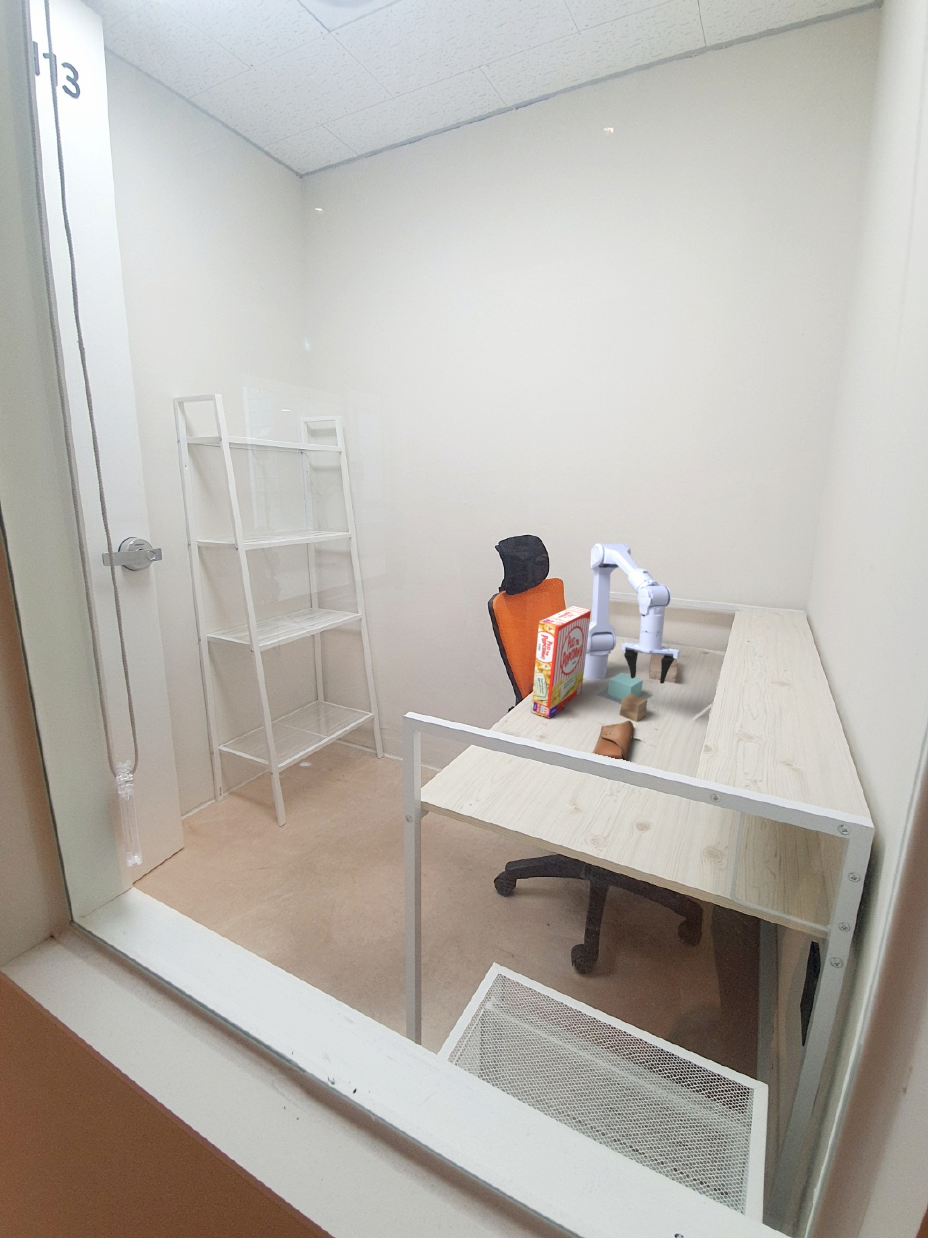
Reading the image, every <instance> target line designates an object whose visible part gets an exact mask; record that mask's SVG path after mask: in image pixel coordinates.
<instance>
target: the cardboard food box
mask: <svg viewBox="0 0 928 1238" xmlns="http://www.w3.org/2000/svg"><path fill="white" fill-rule="evenodd" d="M591 615H592V609H589V608H585V607H580V606H576V605H572V606H570V607H568V608H565V609H564V610H562V611H560V612H557V613H555V614H553V615H551V616H548V617H547V618H544V619H542V620H539V621H538V630H537V631H538V632H537V642H536V653H535V664H534V665H535V666H534V674H533V675H534V676H533V686H532V696H531V697H532V698H531V705H530V712H531V713H533V714H536V715H539V716H540V715H541V717H543V716H545V717H544V718H546V717H550V718H552V717H553V716H554V715H556V714H557V713H558V712H559V711H561V710H563V708H564V706H565V705H566V704H568V703H569V702H570V701H572V700H573V699H574V698H575V697H576V696H578V695H579V694H581V692H582V690H583V684H584V666H585V658H586V649H587V640H588V632H589V623H590V622H591Z"/></svg>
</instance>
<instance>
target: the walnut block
mask: <svg viewBox="0 0 928 1238" xmlns="http://www.w3.org/2000/svg"><path fill="white" fill-rule="evenodd" d="M647 706H648V699H644V698H642V697H639V696H636V695H633V694H629V695H628V696H626V697H624V698H623V699H622V702H621V704H620V711H619V716H621V717H623V718H625V719H629V721H634V722H635V723H637V722H638V721H640V720H641V719H643V718H644V717H646V714H647Z"/></svg>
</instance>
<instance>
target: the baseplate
mask: <svg viewBox="0 0 928 1238" xmlns="http://www.w3.org/2000/svg"><path fill="white" fill-rule="evenodd" d="M608 689H609V686H608V687H605V688H603V689H602V690H601V691H599V692H597V693H596V695H597V696H600V697H603V698H605V699H607V700H610V701H613V702H615V703H617V704H620V705H621V702H622V700H621V699H619V698H616V697H614V696H611V695H608ZM639 697H642V698H644V699H647V700H648V699H650V698H651V697H653V694H650V693H647V692H644V691H641V695H640V696H639Z"/></svg>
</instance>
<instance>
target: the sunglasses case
mask: <svg viewBox="0 0 928 1238" xmlns="http://www.w3.org/2000/svg"><path fill="white" fill-rule="evenodd" d="M634 729H635V728H634V724H633V722H632V720H626V721H624V722H619V723H616V724H615V723H614V724H609V725H608V724H607V725H603V726H601V729H600V734H599V736H598V740H597V742H596V745H595V747H594V749H593V751H592V753H595V754H598V755H603V756H608V757H611V758H615V759H623V760H627V761H628V757H629V753H630V748H631V742H632V739H633V735H634V734H633V733H634Z"/></svg>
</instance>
